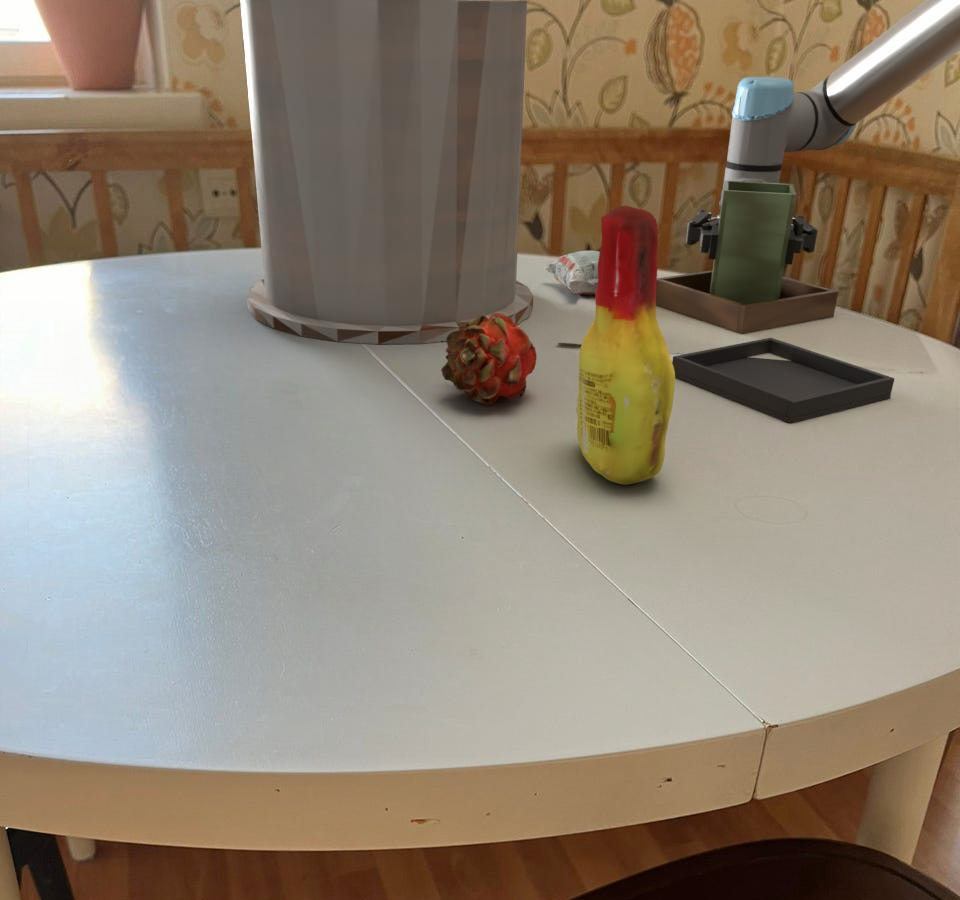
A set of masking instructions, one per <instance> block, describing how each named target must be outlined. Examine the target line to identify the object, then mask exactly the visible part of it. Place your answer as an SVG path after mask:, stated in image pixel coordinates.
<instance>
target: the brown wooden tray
mask: <svg viewBox="0 0 960 900" xmlns="http://www.w3.org/2000/svg"><path fill="white" fill-rule="evenodd" d="M712 270H713V269H712ZM712 270H706V271H704V270H703V271H698V272H692V273H691V272H690V273H684V274H678V275H677V274H676V275H670V276H663V277H657V282H656V307H659V308H661V309H665V310H668V311H670V312H673V313H676V314H680V315H683V316H685V317H687V318H691V319H694V320H696V321H697V320H698V321H700V322H703V323H706V324H709V325H713V326H715V327H718V328H721V329H724V330H727V331H729V332H733V333H736V334H739V335H746V334H751V333H756V332H757V333H758V332H763V331H766V330H773V329H777V328H778V329H779V328H782V327H783V328H784V327H789V326H795V325H799V324H806V323H809V322H815V321H822V320H825V319H831V318H834V316H835V312H836V306H837V300H838V296H839V290H835V289H831V288H828V287H824V286H820V285H817V284H816V285H815V284H813V283H809V282H805V281H801V280H798V279H794V278H790V277H788V276H787V277H786V276H783V278H782V284H781V290H780V296H779V299H778V300H772V301H766V302H760V303H754V304H748V305H744V304H741V303H737V302H734V301H731V300H728V299H724V298H721V297H718V296H715V295H711V294H709V292H710V285H711V277H712Z"/></svg>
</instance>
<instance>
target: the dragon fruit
mask: <svg viewBox="0 0 960 900" xmlns="http://www.w3.org/2000/svg"><path fill="white" fill-rule="evenodd" d="M445 342H446V344H447V348H445V352H446V356H445V359H446V360H447V362H445V365H443V366H442V367H441V369H440V371H441V374H442V378H443V379H444V380H445V381H450V382H452V383H453V385H454V387H455V388H456V389H457V390H459V391H461V392H464V393H465V394H467V395H468V396H469V397H470V399H471V400H472V401H474V402H476V403H480V404H482V405H484V406H491V405H492V404H494V403H496V401H498V399H499V397H505V398H506V399H508V400H511V399H514V398H516V399H518V400H519V399H521V398H522V397H523V396H524V395H525V393H526V388H527V377H528V376H529V375H530V374H532V373H533V371H534V370H535V369H536V366H537V365H536V364H537V350H536V347H535V346H534V344H533V343H532V342H531V340H530V337H529V336H528V334H527V333H526V331H524V330H523V329H521V327H520V326H519V325H518V324H517V325H516V324H515V323H514V322H513V321H512V319H511V318H510V317H508V316H506V315H504V314H502V313H494V314H492V315H491V316H490V317H489V318H487V317H485V316H481V317H479V318H476V319H474V320H473V321H471V322H469V323H467V325H466V326H465V330H458V331H454V332H451V333H450V334H449V335H448V336H447V338H446V341H445Z"/></svg>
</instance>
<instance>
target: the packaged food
mask: <svg viewBox="0 0 960 900" xmlns="http://www.w3.org/2000/svg"><path fill="white" fill-rule="evenodd" d="M599 254H600V250H580V251H575V252H571V253H567V254H565V255H561V256H560V257H558V258H557V259H555V261H552V262H549V263H548V264H547V265H546V266H545V267H544V270H545V271H547V272H548V273H551V274H552V275H553V278H554V279H555V280H556V281H557V282H558V283H560V284H561V285H563V286H565V287H566V288H567V289H568V291H570V292H572V293H573V294H576V295H578V296H579V295H581V296H595V294H596V289H597V284H598V260H599Z"/></svg>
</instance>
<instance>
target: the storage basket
mask: <svg viewBox="0 0 960 900" xmlns="http://www.w3.org/2000/svg"><path fill="white" fill-rule="evenodd" d="M527 11H528V1H527V0H240V12H241V22H242V23H241V24H242V35H243V46H244V58H245V59H244V60H245V71H246V82H247V92H248V106H249V117H250V118H249V119H250V130H251V140H252V141H251V142H252V151H253V153H252V154H253V162H254V163H253V165H254V175H255V176H254V177H255V188H256V200H257V211H258V223H259V224H258V225H259V236H260V247H261V258H262V272H263V279H260V280H259V281H258V282H256V283H255V284H253V285H252V286H251V287H249V288H248V292H247V295H246V303H247V304H246V305H247V311H248V312H249V313H250V315H251V316H252V317H253V318H254V320H256V321H258V322H260V323H261V324H264V325H266V326H267V327H270V328H272V329H274V330H277V331H281V332H285V333H289V334H292V335H295V336H300V337H305V338H311V339H317V340H318V339H319V340H325V341H330V342H337V343H353V344H354V343H355V344H368V345H369V344H370V345H421V344H422V345H423V344H432V343H442V342H441V341H444V342H446V338H447V336H448V335H449V334H450V333H451V332H454V331H458V330H465V326H466V325H467V323H469V322H471V321H473V320H474V319H476V318H479V317H481V316H485V317H487V318H489V317H490V316H491V315H492V314H494V313H502V314H504V315H506V316H508V317H510V318H511V319H512V321H513V322H514V323H515V324H516V325H517V326H518V325H519V324H521V323H522V322H524V321H525V320H527V319H528V318H530V316H531V313H532V311H533V308H534V294H533V293H532V290H531V289H530V288H529V287H528V285H526V284H524V283H522V282H520V281H519V280H517V270H518V246H519V245H518V244H519V223H520V222H519V221H520V220H519V219H520V197H521V195H520V193H521V167H522V141H523V118H524V117H523V116H524V93H525V92H524V90H525V65H526V42H527V41H526V40H527V39H526V38H527V15H528V14H527Z"/></svg>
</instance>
